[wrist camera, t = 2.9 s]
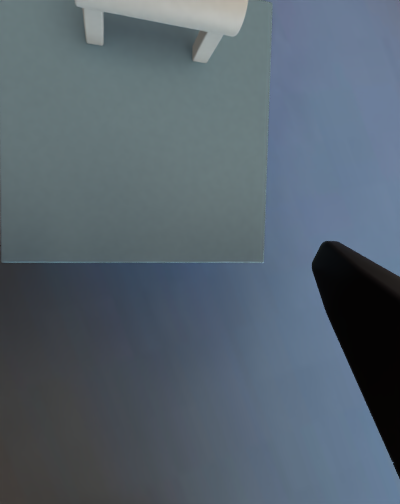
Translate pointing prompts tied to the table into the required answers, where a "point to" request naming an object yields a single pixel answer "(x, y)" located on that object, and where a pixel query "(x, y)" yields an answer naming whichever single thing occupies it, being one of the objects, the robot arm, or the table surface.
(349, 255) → the robot arm
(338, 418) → the table surface
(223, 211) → the compartment lid
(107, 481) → the table surface
